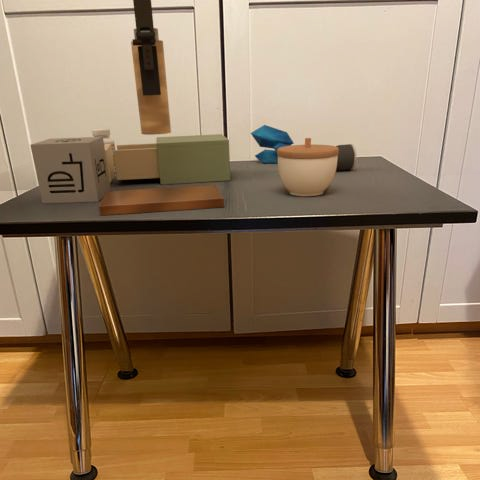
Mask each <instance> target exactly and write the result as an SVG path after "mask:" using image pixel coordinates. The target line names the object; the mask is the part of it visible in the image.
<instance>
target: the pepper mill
mask: <svg viewBox="0 0 480 480" xmlns="http://www.w3.org/2000/svg"><path fill="white" fill-rule="evenodd" d="M154 31H155V38H156V42H155V45H152V46H156V48H157V59H158V69H159V80H160V90H161V95H143V91H142V82H141V73H140V64H139V55H138V46H142V45H137V46H133V41H132V40H131V41H130V47H131V55H132V63H133V72H134V81H135V90H136V99H137V107H138V116H139V124H140V132H141V135H145V136H146V135H147V136H148V135H152V136H153V135H167V134H171V133H172V127H171V116H170V103H169V93H168V81H167V71H166V60H165V59H166V58H165V49H164V48H165V47H164V41H163V40H162V39H160V37H159V28H156V27H154ZM133 37H134V38H133V39H137V36H136V28H133Z"/></svg>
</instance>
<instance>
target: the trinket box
mask: <svg viewBox="0 0 480 480" xmlns="http://www.w3.org/2000/svg"><path fill="white" fill-rule="evenodd" d="M336 146H337V145H331V144H330V145H329V144H312V138H311V137H305V138H304V144H292V145H291V146H284V147H280V148H278V149H277V155H278V163H277V169H278V175H279V179H280V181H281V184H282V185H283V186H284V188H286V190H288V192H289V194H290V195H292V196H296V197H316V196H317V197H318V196H320V195H323V194H324V192H325V191H326V190H327V189H328V188H329V186H330V185H332V183H333V181H334V178H335V177H336V172H337V170H336V168H337V160H338V153H339V148H338V147H336Z"/></svg>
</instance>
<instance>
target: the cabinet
mask: <svg viewBox="0 0 480 480" xmlns="http://www.w3.org/2000/svg"><path fill="white" fill-rule="evenodd" d="M155 141H156V142H155V143H156V144H157V154H158V164H159V174H160V178H159V182H160V185H161V186H162V185H163V186H164V185H165V186H166V185H180V184H181V185H182V184H193V183H194V184H196V183H197V184H198V183H211V182H212V183H213V182H229V181H231V161H230V160H231V158H230V157H231V155H230V139H228V138H227V137H226V136H225V135H224V134H222V133H217V134H198V135H197V134H195V135H174V136H157V137H156V140H155Z"/></svg>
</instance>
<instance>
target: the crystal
mask: <svg viewBox="0 0 480 480" xmlns="http://www.w3.org/2000/svg"><path fill="white" fill-rule="evenodd" d="M250 135H251V136H252V137H253V139H254V141H255V142H256V143H257V144H258V146H259V147H260V148H265V149H263V150H261V151H260V152H258V153H257V154H255V155H254V157H255V158H256V159H257V160H258V161H260V162H261V163H262V164H263V165H267V164H268V165H269V164H270V165H271V164H272V165H273V164H275V165H276V164H277V165H278V155H277V149H278V148H280V147H284V146H291V145H295V143H294V141H293V139H292V137H291V136H290V134H289V133H288V132H287V131H284V130H281V129H279V128H276V127H272V126H269V125H266V124H264V125H262V126H260V127H259V128H256V129H254V130H253V131H252V132H250Z"/></svg>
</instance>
